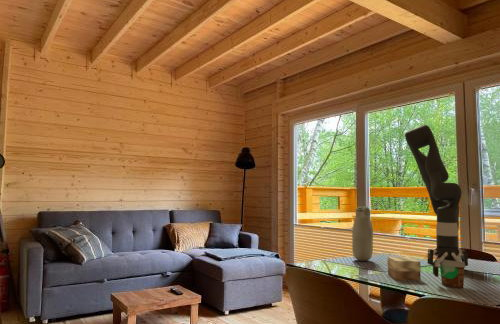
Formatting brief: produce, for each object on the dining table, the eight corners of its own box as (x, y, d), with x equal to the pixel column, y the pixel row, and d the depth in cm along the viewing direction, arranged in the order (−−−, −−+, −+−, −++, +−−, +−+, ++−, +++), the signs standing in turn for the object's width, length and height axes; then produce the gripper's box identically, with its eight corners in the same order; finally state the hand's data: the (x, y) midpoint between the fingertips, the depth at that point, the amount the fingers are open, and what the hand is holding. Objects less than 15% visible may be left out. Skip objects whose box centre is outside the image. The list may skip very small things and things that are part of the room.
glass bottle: (349, 260, 206) (349, 206, 208) (358, 258, 213) (358, 205, 216) (367, 263, 199) (367, 206, 201) (376, 260, 207) (375, 206, 209)
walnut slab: (411, 276, 171) (411, 267, 171) (420, 281, 161) (420, 271, 161) (388, 275, 171) (387, 266, 171) (395, 281, 161) (395, 270, 161)
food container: (431, 281, 159) (431, 256, 160) (446, 281, 160) (446, 256, 160) (449, 289, 147) (449, 261, 148) (465, 289, 147) (465, 261, 148)
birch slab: (411, 267, 171) (411, 257, 171) (420, 271, 161) (420, 261, 161) (387, 266, 171) (387, 256, 172) (395, 271, 161) (395, 260, 162)
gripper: (461, 233, 158) (462, 275, 157) (424, 232, 159) (425, 274, 158) (470, 235, 151) (471, 279, 149) (431, 234, 152) (432, 278, 150)
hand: (447, 276), depth 154 cm, fingers open, 8 cm apart
